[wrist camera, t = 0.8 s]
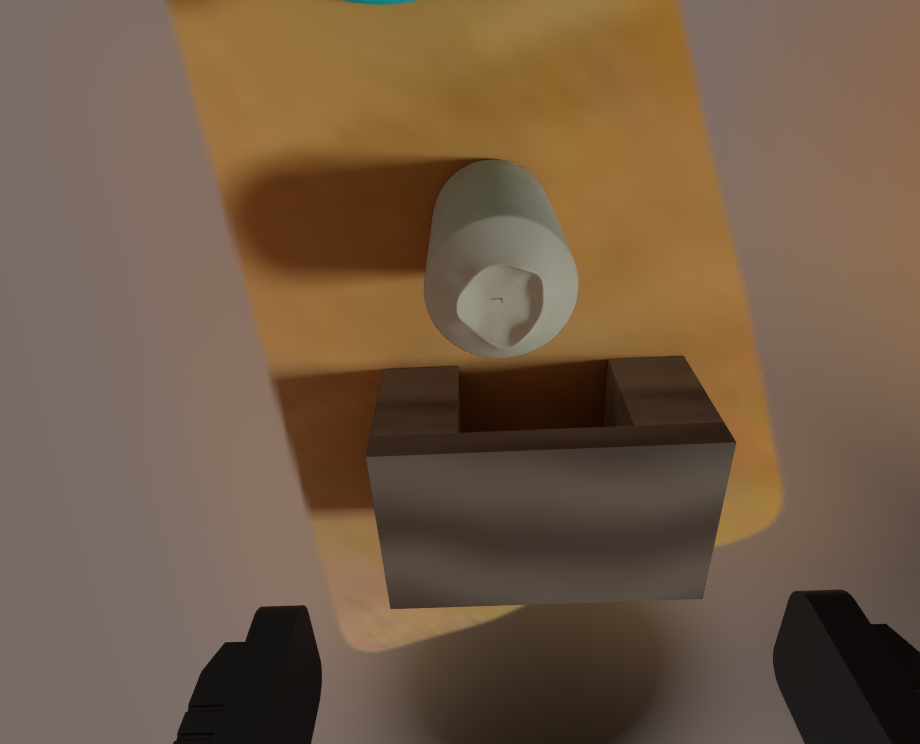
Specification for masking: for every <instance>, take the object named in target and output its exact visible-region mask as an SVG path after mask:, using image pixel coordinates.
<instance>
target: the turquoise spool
mask: <svg viewBox="0 0 920 744" xmlns="http://www.w3.org/2000/svg"><path fill="white" fill-rule="evenodd" d="M344 1H349V2H354V3H361V4H374V5H387V4H399V3H406V2H411V1H416V0H344Z"/></svg>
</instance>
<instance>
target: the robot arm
mask: <svg viewBox="0 0 920 744" xmlns="http://www.w3.org/2000/svg"><path fill="white" fill-rule="evenodd" d="M773 665H774V671H775V676H776V680H777V683H778V686H779V688H780V691H781V693H782V695H783V697H784V700H785V702H786V704H787V706H788V708H789V710H790V712H791V715H792V717H793V719H794V721H795V723H796V726H797V728H798V730H799V732H800V734H801V736H802V738H803V741H804V743H805V744H920V652H919V651H918V650H916V649H915V648H914V647H913V646H912V645H910V644H909V643H908V642H907V641H906V640H905V639H903V638H902V637H901V636H900V635H899V634H897V633H896V632H895V631H894V630H893V629H892V628H890V627H889V626H888V625H887V624H870V622H869V621H868V619H867V618H866V616H865V614H864V613H863V611H862V610H861V608H860V607H859V606H858V604H857V602H856V601H855V600H854V598H853V597H852V596H851V595H850V594H849V593H848V592H846V591H844V590H817V591H816V590H814V591H795V592H793V593H792V594H791V595H790V597H789V600H788V603H787V607H786V610H785V613H784V616H783V620H782V623H781V626H780V630H779V633H778V636H777V640H776V643H775V646H774V650H773ZM321 686H322V668H321V660H320V657H319V652H318V648H317V645H316V641H315V636H314V633H313V629H312V625H311V621H310V617H309V613H308V610H307V608H306V606H304V605H299V606H270V607H260V608H259V609H258V610H257V611H256V613H255V615H254V618H253V621H252V624H251V626H250V629H249V632H248V635H247V638H246V641H245V642H225V643H224V645H223V646H222V647H221V648H220V649H219V651H218V652H217V653H216V654H215V656H214V657H213V658H212V659H211V661H210V662H209V663H208V664H207V665H206V667H205V668H204V669H203V670H202V672H201V674H200V676H199V679H198V682H197V684H196V687H195V689H194V692H193V695H192V697H191V699H190V702H189V705H188V712H186V713H185V715H184V717H183V720H182V723H181V725H180V728H179V730H178V733H177V735H178V736H177V740H176V741H174V743H173V744H311V741H312V736H313V731H314V727H315V722H316V717H317V712H318V707H319V702H320V695H321Z"/></svg>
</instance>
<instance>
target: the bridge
mask: <svg viewBox="0 0 920 744" xmlns="http://www.w3.org/2000/svg"><path fill="white" fill-rule="evenodd" d="M735 445H736V441H735V440H734V438H733V436H732V435H731V433H730V431H729V430H728V428H727V426H726V425H725V423H724V422H723V420H722V418H721V417H720V415H719V413H718V412H717V410H716V408H715V407H714V405H713V403H712V402H711V400H710V398H709V397H708V395H707V393H706V392H705V390H704V389H703V387H702V385H701V384H700V382H699V380H698V379H697V377H696V375H695V374H694V372H693V370H692V369H691V367H690V365H689V364H688V362H687V360H686V359H685V357H684V356H676V357H653V358H630V359H608V367H607V380H606V393H605V406H604V418H603V427H589V428H564V429H540V430H515V431H490V432H466V433H462V420H461V404H460V388H459V372H458V366H447V367H424V368H401V369H384V371H383V376H382V381H381V386H380V391H379V396H378V400H377V405H376V410H375V415H374V420H373V425H372V430H371V435H370V439H369V444H368V449H367V454H366V461H367V467H368V473H369V479H370V485H371V492H372V498H373V504H374V510H375V516H376V522H377V528H378V535H379V541H380V547H381V553H382V559H383V565H384V571H385V578H386V584H387V590H388V596H389V602H390V608H391V609H406V608H437V607H468V606H498V605H529V604H560V603H589V602H620V601H650V600H678V599H679V600H682V599H703V594H704V590H705V585H706V580H707V575H708V571H709V566H710V562H711V557H712V552H713V548H714V543H715V538H716V534H717V529H718V525H719V520H720V515H721V511H722V506H723V501H724V497H725V492H726V487H727V483H728V478H729V473H730V469H731V464H732V459H733V455H734V450H735Z"/></svg>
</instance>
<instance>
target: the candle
mask: <svg viewBox="0 0 920 744" xmlns="http://www.w3.org/2000/svg"><path fill="white" fill-rule="evenodd" d="M578 282H579V281H578V273H577V268H576V265H575V261H574V259H573V256H572V254H571V252H570V249H569V247H568V244H567V242H566V240H565V237H564V235H563V232H562V230H561V228H560V225H559V223H558V220H557V218H556V215H555V213H554V211H553V208H552V206H551V203H550V201H549V199H548V196H547V194H546V192H545V190H544V189H543V187H542V185H541V184H540V182H539V181H538V180H537V179H536V178H535V177H534V176H533V175H532V174H531V173H530V172H529V171H527V170H526V169H524V168H523V167H521V166H519V165H517V164H515V163H512V162H509V161H504V160H496V159H490V160H482V161H477V162H474V163H471V164H469V165H467V166H465V167H463V168H462V169H460V170H459V171H457V172H456V173H455V174H454V175H453V176H452V177H450V178H449V180H448V181H447V182H446V183H445V184H444V186H443V187H442V189H441V191H440V193H439V195H438V197H437V199H436V203H435V206H434V211H433V217H432V225H431V232H430V240H429V248H428V256H427V263H426V271H425V279H424V297H425V303H426V307H427V310H428V313H429V315H430V318H431V320H432V321H433V323H434V325H435V326H436V328H437V329H438V330H439V331H440V333H441V334H442V335H443V336H444V337H445V338H446V339H447V340H449V341H450V342H451V343H453V344H454V345H455V346H457V347H459V348H461V349H462V350H465V351H467V352H469V353H472V354H475V355H479V356H483V357H489V358H508V357H514V356H519V355H523V354H526V353H529V352H531V351H533V350H536V349H538V348H539V347H541V346H543V345H545V344H546V343H547V342H549V341H550V340H551V339H553V338H554V337H555V336H556V335H557V334H558V333H559V332H560V331H561V329H562V328H563V327H564V326H565V324H566V323H567V321H568V320H569V318H570V316H571V314H572V312H573V310H574V307H575V304H576V301H577V296H578Z"/></svg>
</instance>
